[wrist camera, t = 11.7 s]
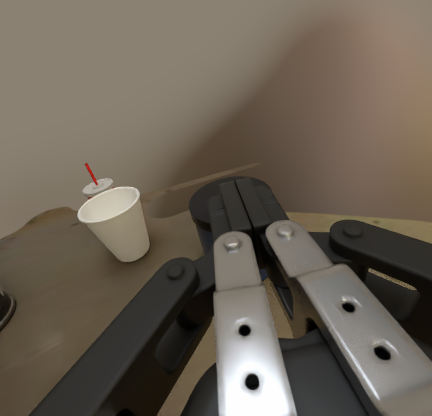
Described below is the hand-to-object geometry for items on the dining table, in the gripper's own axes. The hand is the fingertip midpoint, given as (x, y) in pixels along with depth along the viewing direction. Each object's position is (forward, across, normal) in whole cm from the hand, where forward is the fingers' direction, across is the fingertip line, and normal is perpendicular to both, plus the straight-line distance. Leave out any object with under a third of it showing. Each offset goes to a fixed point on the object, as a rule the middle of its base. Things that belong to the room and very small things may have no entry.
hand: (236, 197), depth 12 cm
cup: (+25, -18, -23) cm, 39 cm away
